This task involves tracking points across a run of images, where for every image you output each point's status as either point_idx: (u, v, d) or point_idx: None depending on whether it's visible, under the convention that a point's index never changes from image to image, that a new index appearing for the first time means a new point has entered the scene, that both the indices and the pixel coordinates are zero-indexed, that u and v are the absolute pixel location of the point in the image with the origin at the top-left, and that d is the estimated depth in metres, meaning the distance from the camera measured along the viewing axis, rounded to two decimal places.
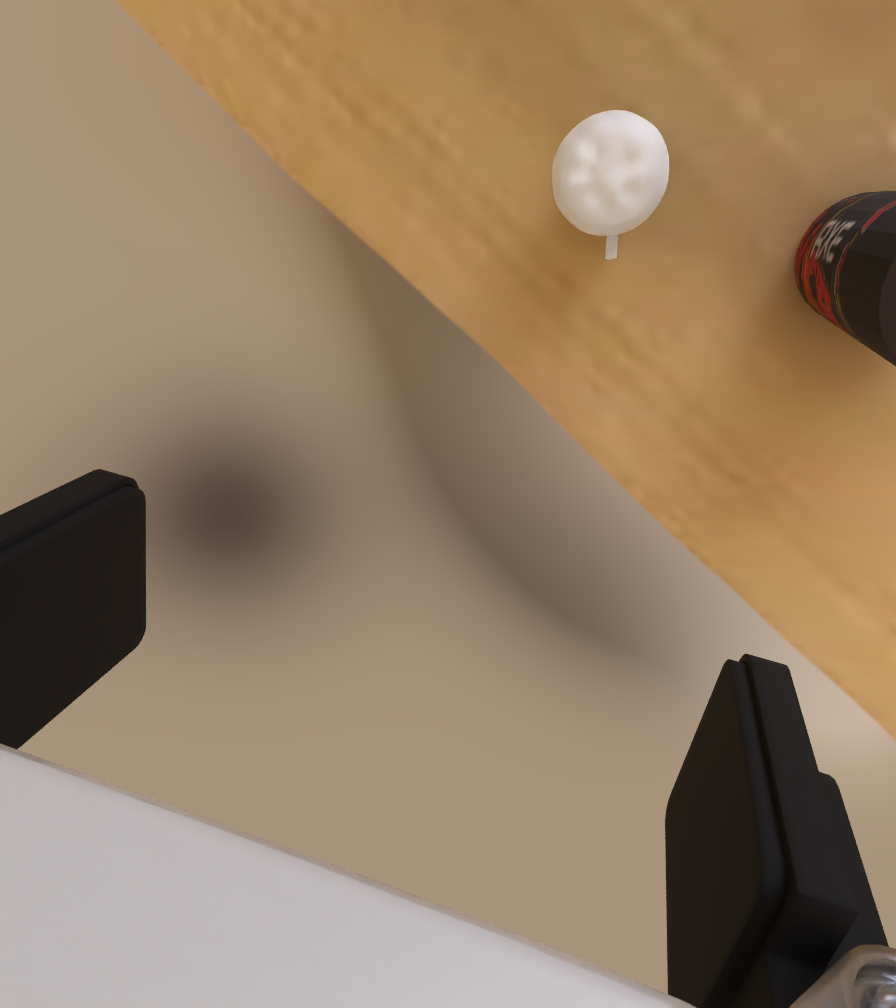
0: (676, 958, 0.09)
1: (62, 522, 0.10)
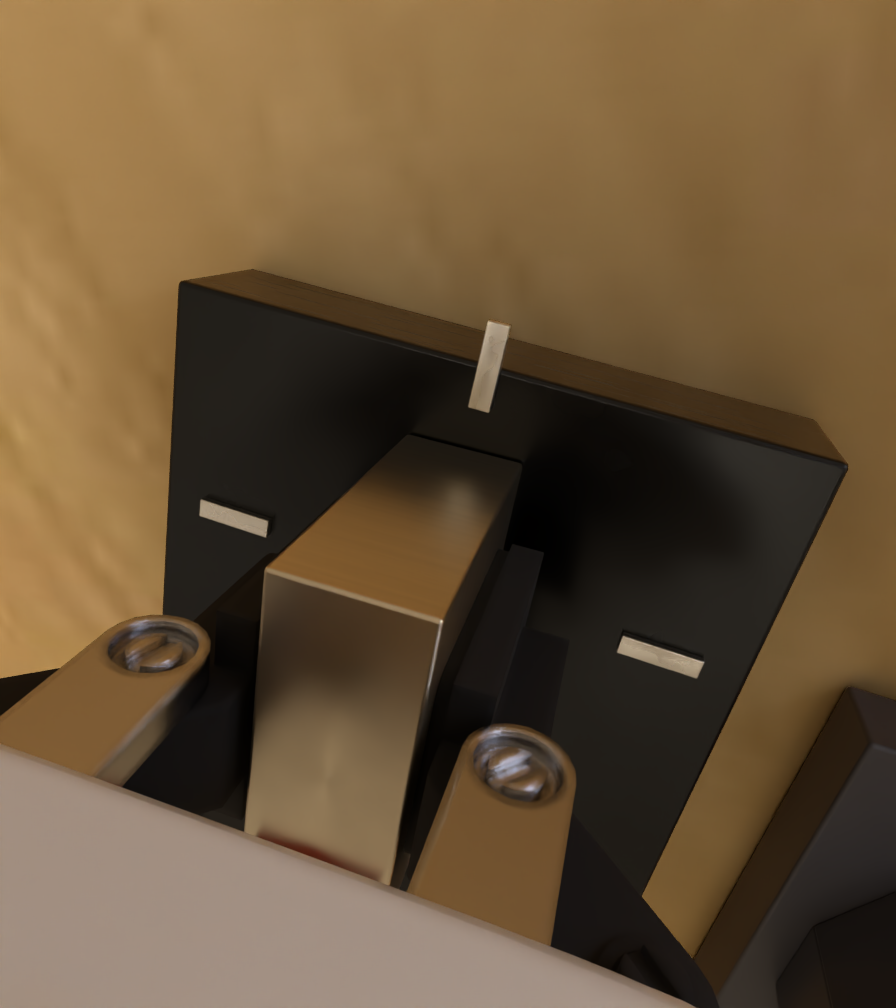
0: None
1: None
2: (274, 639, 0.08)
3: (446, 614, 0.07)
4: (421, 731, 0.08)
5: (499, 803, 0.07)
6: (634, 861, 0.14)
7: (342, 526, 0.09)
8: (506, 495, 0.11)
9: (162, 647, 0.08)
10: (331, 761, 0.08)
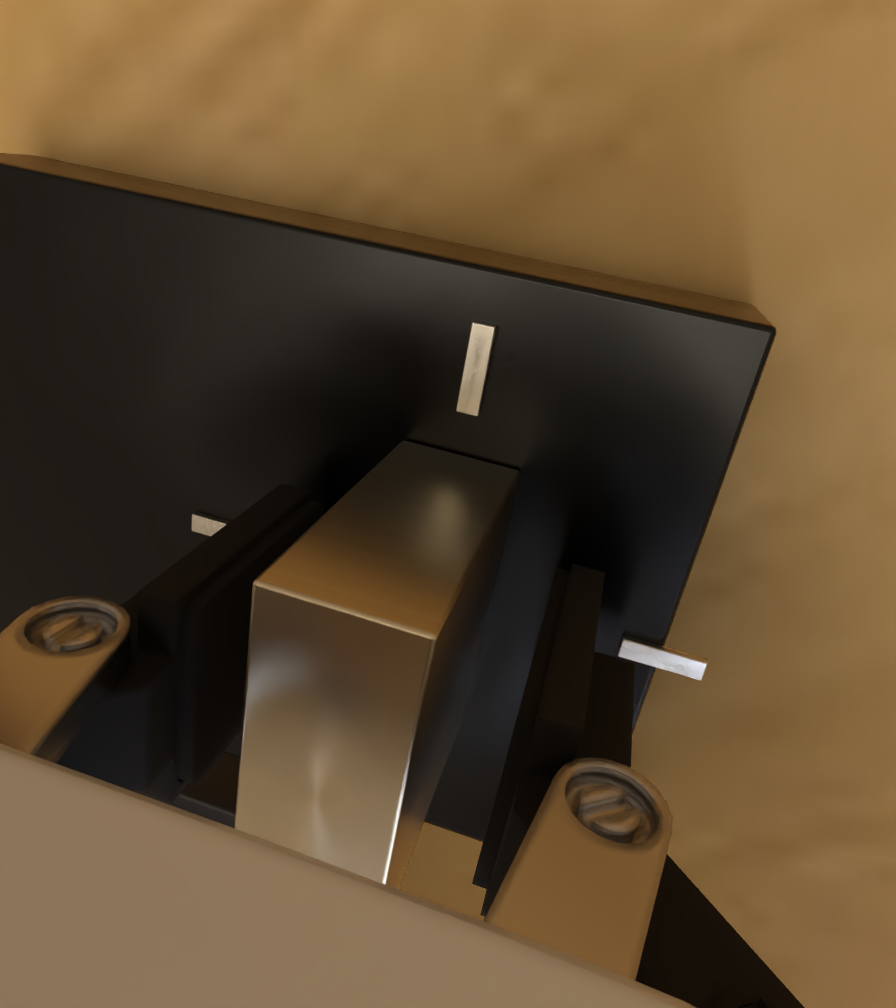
0: None
1: (272, 535, 0.10)
2: (264, 652, 0.08)
3: (438, 629, 0.07)
4: (414, 748, 0.08)
5: (588, 840, 0.07)
6: None
7: (334, 536, 0.09)
8: (503, 503, 0.10)
9: (79, 626, 0.08)
10: (321, 777, 0.08)
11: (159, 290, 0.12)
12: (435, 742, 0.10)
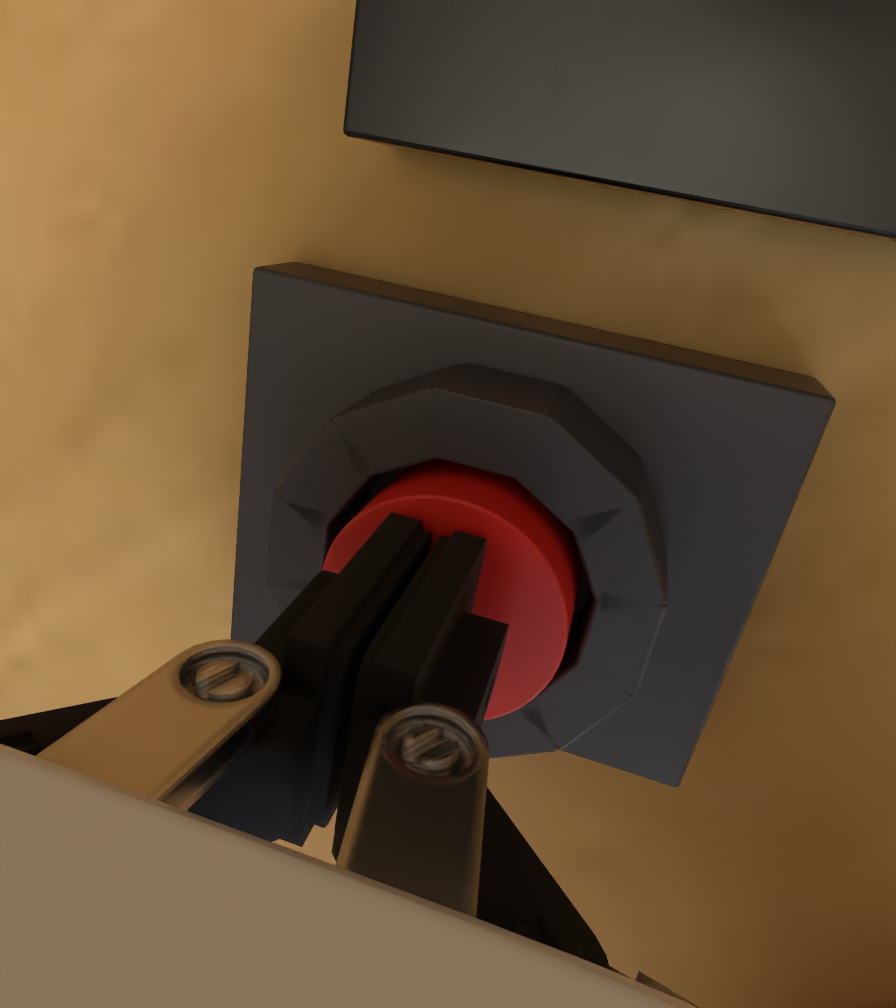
0: None
1: (395, 569, 0.10)
2: None
3: None
4: None
5: (416, 779, 0.07)
6: (663, 163, 0.11)
7: None
8: None
9: (233, 674, 0.08)
10: None
11: None
12: None
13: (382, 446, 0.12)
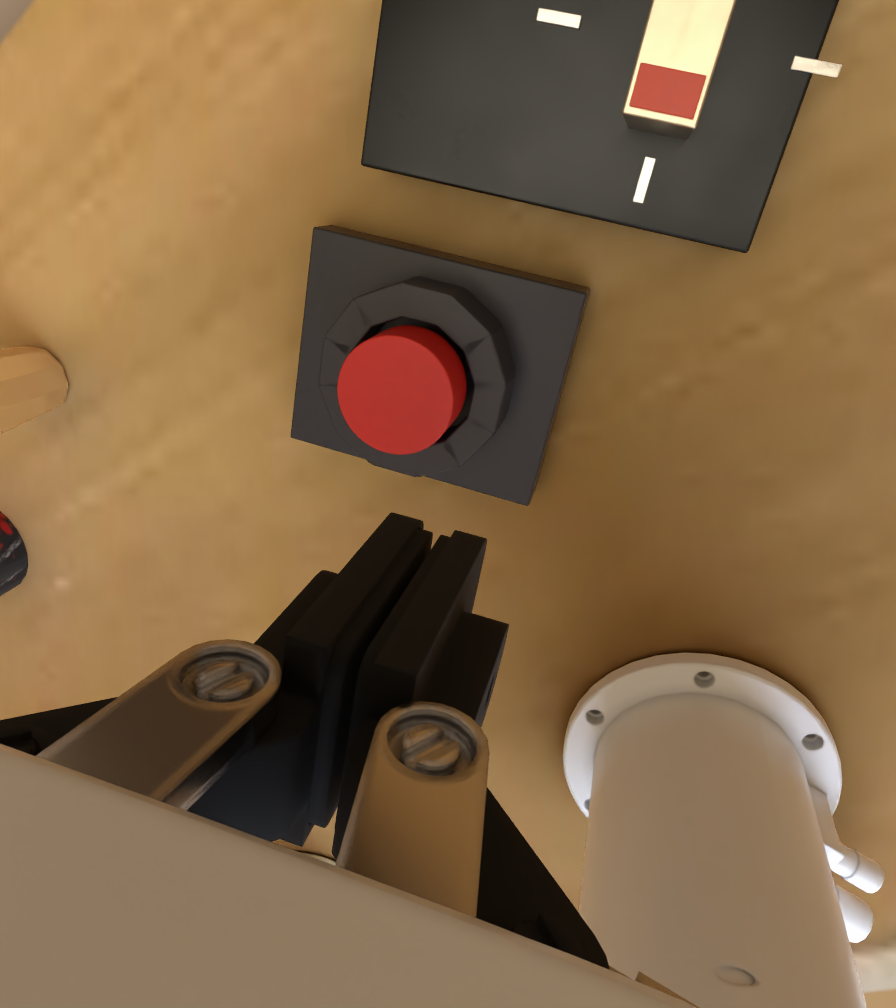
0: None
1: (395, 569, 0.10)
2: None
3: None
4: None
5: (416, 779, 0.07)
6: (501, 183, 0.26)
7: None
8: None
9: (234, 675, 0.08)
10: None
11: None
12: None
13: (377, 311, 0.27)
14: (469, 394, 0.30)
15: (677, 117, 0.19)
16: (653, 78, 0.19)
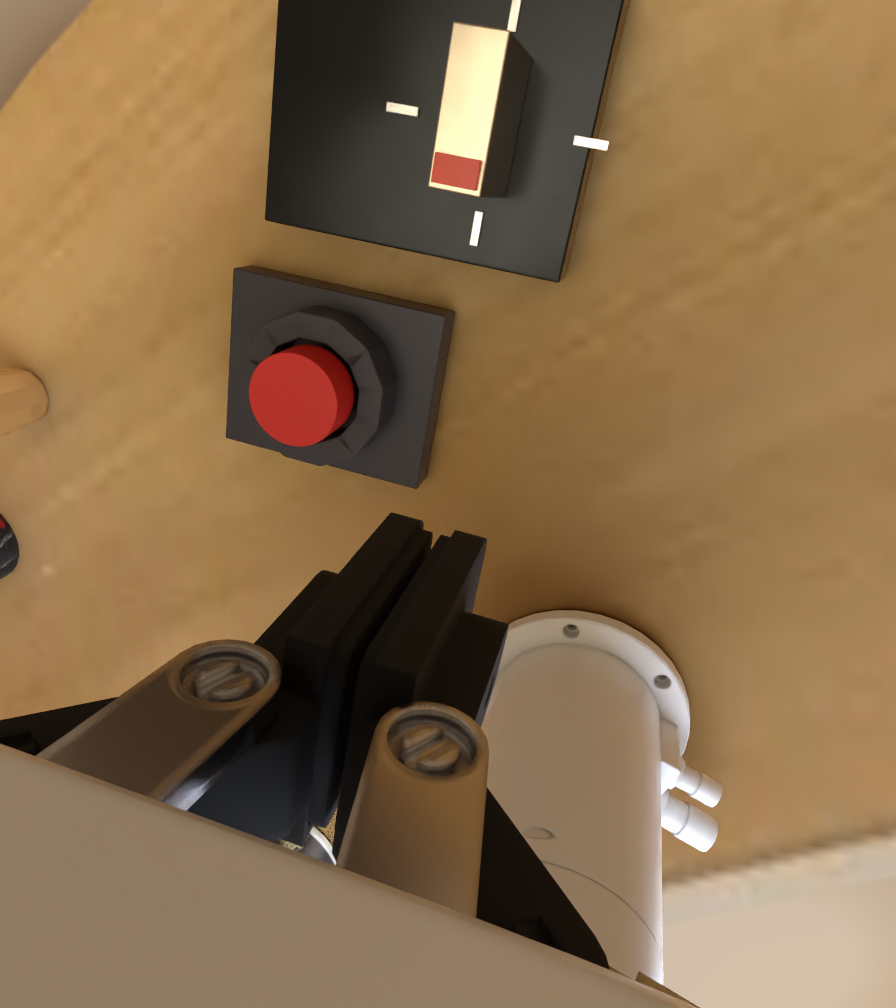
0: None
1: (395, 569, 0.10)
2: (454, 50, 0.25)
3: None
4: (501, 81, 0.25)
5: (415, 780, 0.07)
6: (371, 232, 0.33)
7: None
8: (526, 51, 0.27)
9: (233, 674, 0.08)
10: (469, 102, 0.25)
11: None
12: (502, 129, 0.27)
13: (280, 334, 0.34)
14: None
15: (466, 189, 0.26)
16: (444, 162, 0.26)
